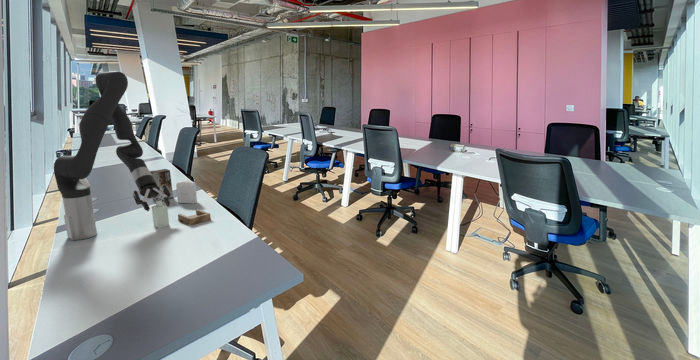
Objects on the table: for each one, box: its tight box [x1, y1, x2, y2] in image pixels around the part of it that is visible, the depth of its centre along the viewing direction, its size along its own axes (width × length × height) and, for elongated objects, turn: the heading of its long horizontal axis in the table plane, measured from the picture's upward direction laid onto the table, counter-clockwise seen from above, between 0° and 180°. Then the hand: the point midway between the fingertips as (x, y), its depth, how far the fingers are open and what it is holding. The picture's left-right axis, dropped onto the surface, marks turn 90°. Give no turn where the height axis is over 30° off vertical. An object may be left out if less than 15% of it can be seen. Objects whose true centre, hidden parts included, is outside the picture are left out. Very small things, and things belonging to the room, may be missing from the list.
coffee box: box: [149, 168, 174, 201], centre depth 204 cm, size 9×6×16 cm
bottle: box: [151, 198, 170, 229], centre depth 160 cm, size 5×5×12 cm
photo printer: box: [175, 180, 198, 205], centre depth 196 cm, size 10×4×12 cm, turn 82°
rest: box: [177, 209, 212, 226], centre depth 168 cm, size 10×11×3 cm
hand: (158, 207), depth 161 cm, fingers open, 8 cm apart
